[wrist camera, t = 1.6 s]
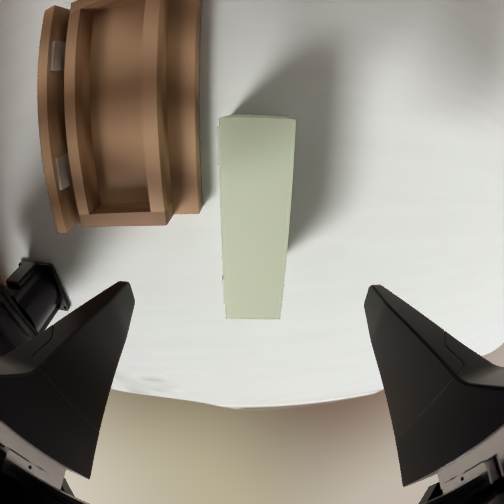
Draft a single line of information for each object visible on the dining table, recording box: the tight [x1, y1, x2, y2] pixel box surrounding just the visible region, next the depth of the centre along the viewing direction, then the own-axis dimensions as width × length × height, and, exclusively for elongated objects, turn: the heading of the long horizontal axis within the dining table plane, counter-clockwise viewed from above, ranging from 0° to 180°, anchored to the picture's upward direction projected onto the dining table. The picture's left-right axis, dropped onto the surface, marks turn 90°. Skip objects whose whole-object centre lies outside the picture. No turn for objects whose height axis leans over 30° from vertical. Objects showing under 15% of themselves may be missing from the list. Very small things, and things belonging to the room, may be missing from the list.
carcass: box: [37, 0, 203, 233], centre depth 14 cm, size 18×11×4 cm, turn 179°
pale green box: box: [217, 115, 296, 319], centre depth 17 cm, size 12×4×7 cm, turn 179°
